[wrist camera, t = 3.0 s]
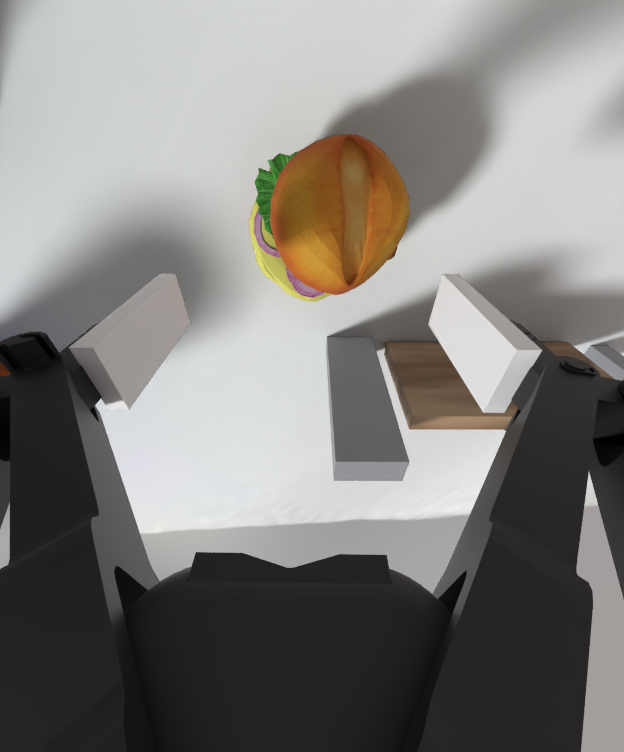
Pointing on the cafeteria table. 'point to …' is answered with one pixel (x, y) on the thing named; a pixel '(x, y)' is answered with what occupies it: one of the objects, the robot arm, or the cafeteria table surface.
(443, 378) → the door
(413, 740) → the robot arm
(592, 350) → the door frame
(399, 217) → the cheeseburger
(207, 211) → the cafeteria table surface
